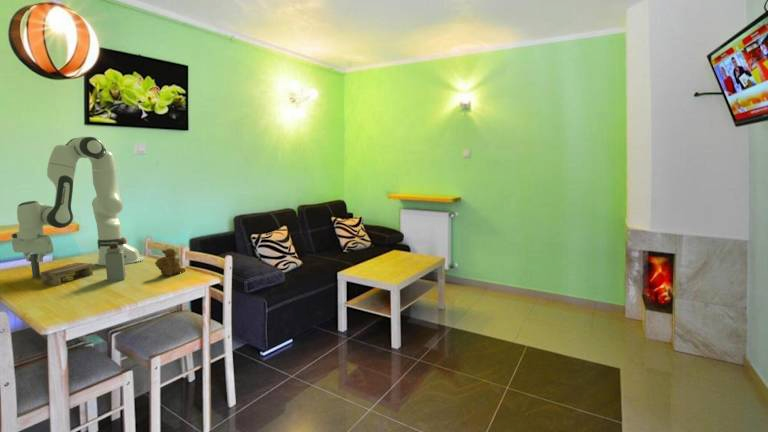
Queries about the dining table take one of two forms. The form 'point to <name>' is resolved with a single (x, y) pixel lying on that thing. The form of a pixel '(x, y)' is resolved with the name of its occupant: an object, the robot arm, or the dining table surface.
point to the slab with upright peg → (36, 266)
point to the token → (68, 278)
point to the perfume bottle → (115, 263)
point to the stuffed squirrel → (169, 263)
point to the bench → (54, 274)
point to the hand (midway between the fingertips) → (34, 261)
